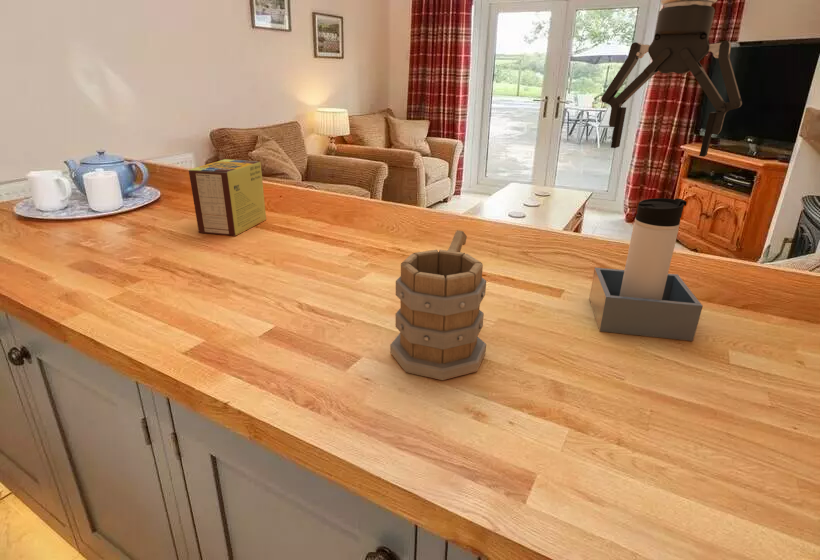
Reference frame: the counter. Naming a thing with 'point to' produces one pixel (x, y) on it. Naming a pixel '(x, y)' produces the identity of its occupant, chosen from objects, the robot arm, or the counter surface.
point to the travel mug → (651, 248)
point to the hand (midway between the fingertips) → (657, 151)
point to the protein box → (228, 196)
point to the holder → (644, 308)
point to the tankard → (440, 313)
